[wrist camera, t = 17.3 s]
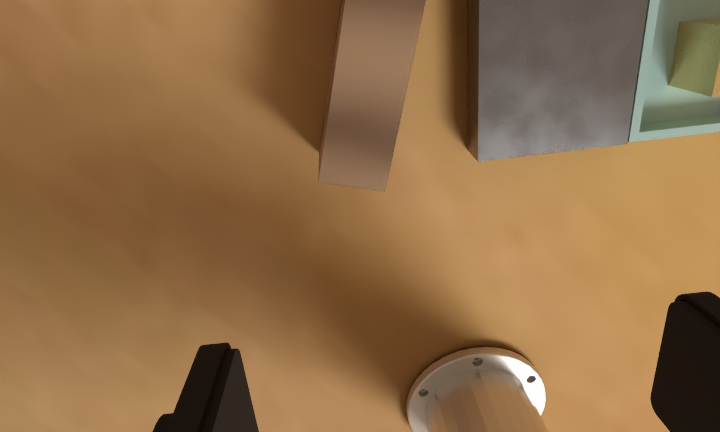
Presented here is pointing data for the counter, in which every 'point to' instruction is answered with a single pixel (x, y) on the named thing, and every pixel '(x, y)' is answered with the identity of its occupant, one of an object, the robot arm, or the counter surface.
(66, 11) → the counter surface
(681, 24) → the brass block
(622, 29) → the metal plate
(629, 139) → the teal tray
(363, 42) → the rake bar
